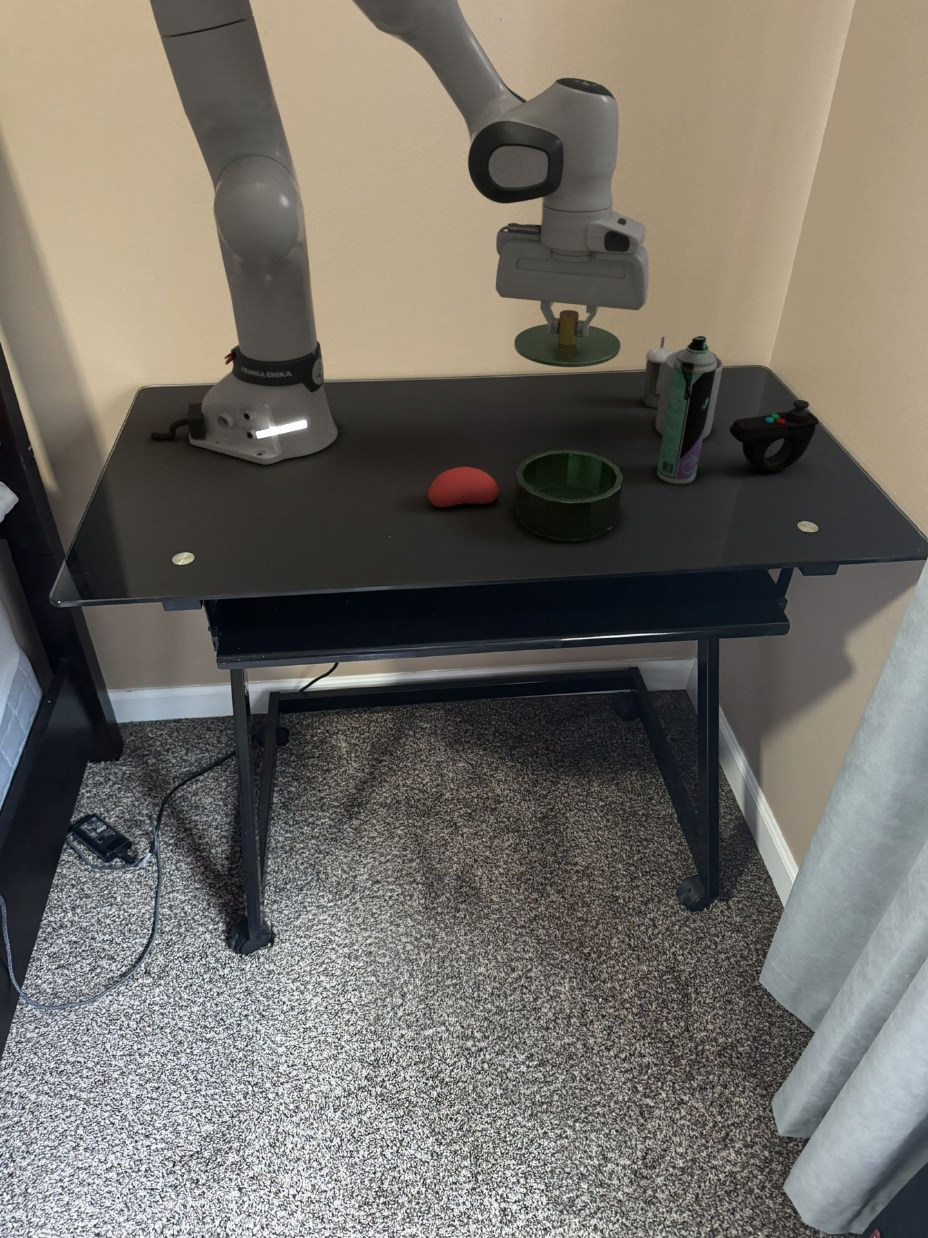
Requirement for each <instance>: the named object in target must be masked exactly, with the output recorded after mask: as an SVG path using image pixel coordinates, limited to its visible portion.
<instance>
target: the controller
mask: <svg viewBox="0 0 928 1238" xmlns="http://www.w3.org/2000/svg"><path fill="white" fill-rule="evenodd" d="M792 404H793V407H794V408H792V409H790V410H788V411H782V412H781V411H780V412H777V413H772V414H768V415H761V416H753V417H744V418H737V419H735V420H734V421H733V423H732V424H731V426H730V427H729V433H730V435H732V437H733V438H734V439H736V440H737V441H738V442H739V443H742V452H743V455H744V457H745V459H746V461H747V462H748V463H749V464H750V465H751V466H752V467H753V468H755V469H756V470H758V471H760V472H764V473H776V472H780V471H784V470H786V469H787V468H789V467H791V466H793V465H794V464H795V463H796V462H798V461H799V459H800V458H801V457H802V456H803V455H804V453H805V452H806V450H807V449H808V447H809V445H810V443H811V441H812V439H813V437H814V434H815V432H816V425H818V424H819V423H820V422H819V419H818V418H817V416H815V415H814V414H812V413H811V412H809V411H807V410H806V409H808V408H809V406H810V403H809V402H808V401H806V400H804V399H796V400H794V401H793V403H792ZM780 440H783V443H782V445H781V447H780V449H779V450H778V451H777V452H775V454H773V455H771V456H769V457H765V455H766V452H767V450H768V449H769V448H770V446H771V445H773V444H774V443H775V442H776V441H777V442H778V441H780Z"/></svg>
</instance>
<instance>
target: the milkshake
mask: <svg viewBox="0 0 928 1238" xmlns="http://www.w3.org/2000/svg"><path fill="white" fill-rule="evenodd" d="M664 345H665V336H661V340H660V347H654V348H651V349H649V350H648V351H647V352H646V354H645V376H644V377H645V378H644V379H645V380H644V381H645V382H644V393H643V394H644V395H643V404H644V405H645V406H646V407H650V408H654V409H655V408H658V405H659V398H660V392H661V385H662V378H663V372H664V365H665V360H666V358H667V356H668V355H670V354H672V353H675V352H674V351H673V350H672V349H670V348H664Z"/></svg>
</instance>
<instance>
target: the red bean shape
mask: <svg viewBox="0 0 928 1238" xmlns="http://www.w3.org/2000/svg"><path fill="white" fill-rule="evenodd" d="M499 491H500V490H499V487H498V484H497V482H496V481H495V479H494V478H493V477H492V476H491V475H490V474H488V473H487V472H486V471H484V470H481V469H479V468H476V467H471V466H459V467H454V468H451V469H448V470H445V471H443V472H442V473H440V474H439V475H438V476H437V477H436V478H435V479H434V480H433V481H432V483H431V484H430V487H429V489H428V495H427V497H428V500H429V502H430V503H431V504H432V505H433V506H435V507H437V508H447V507H453V506H457V505H461V504H481V505H482V504H484V505H485V504H490V503H493V502H494V501H495V500H496V499H497V498H498V496H499Z"/></svg>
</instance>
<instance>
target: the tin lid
mask: <svg viewBox="0 0 928 1238" xmlns="http://www.w3.org/2000/svg"><path fill="white" fill-rule="evenodd" d="M579 317H580V313H579V311H577V310H573V309H564V310H561V311H559V316H558V318H559V331H558V334H548V333H547V327H548V323H544V324H539V325H534V326H532V327H529V328H526V329H524V330H522V331H521V332H519V333H518V334H517V335H516V336H515V338H514V343H513V347H514V349H515V351H516V352H517V354H518V355H520V356H521V357H523V358H525V359H526V360H528V361H530V362H533V363H537V364H541V365H544V366H549V367H558V368H585V367H592V366H597V365H600V364H604V363H606V362H609V361H611V360H613V359H614V358H616V357H617V356H618V355H619V353H620V352H621V341H620V339H619V338H618V337H617V336H616V335H615V334H614V333H612V332H610V331H608V330H607V329H603V328H601V327H597V326H594V325H591V324H589V332H588V336H587V338H585V337H576V332H577V330H576V327H577V323H578V321H579V320H580V319H579Z"/></svg>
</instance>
